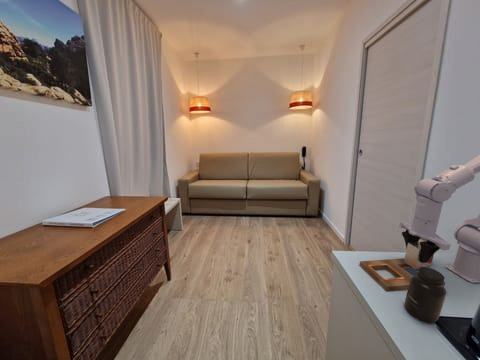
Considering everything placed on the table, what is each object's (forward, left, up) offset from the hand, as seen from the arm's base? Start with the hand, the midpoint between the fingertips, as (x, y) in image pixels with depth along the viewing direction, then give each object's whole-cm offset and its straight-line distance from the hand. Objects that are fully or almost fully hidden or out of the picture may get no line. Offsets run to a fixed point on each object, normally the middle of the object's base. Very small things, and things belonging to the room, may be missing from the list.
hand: (416, 257), depth 67 cm
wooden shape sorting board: (+5, 0, -6) cm, 8 cm away
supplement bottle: (+12, +14, -6) cm, 19 cm away
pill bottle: (-9, -6, -6) cm, 12 cm away
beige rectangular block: (0, 0, -3) cm, 3 cm away
